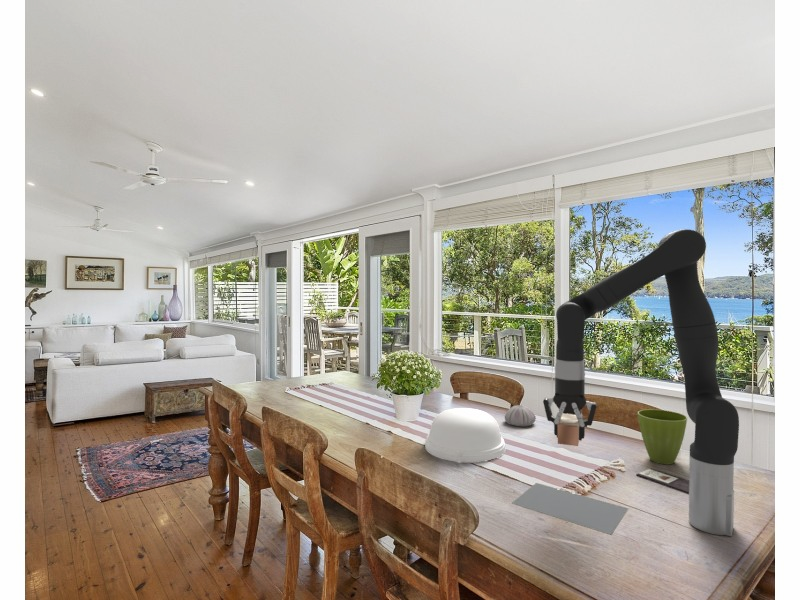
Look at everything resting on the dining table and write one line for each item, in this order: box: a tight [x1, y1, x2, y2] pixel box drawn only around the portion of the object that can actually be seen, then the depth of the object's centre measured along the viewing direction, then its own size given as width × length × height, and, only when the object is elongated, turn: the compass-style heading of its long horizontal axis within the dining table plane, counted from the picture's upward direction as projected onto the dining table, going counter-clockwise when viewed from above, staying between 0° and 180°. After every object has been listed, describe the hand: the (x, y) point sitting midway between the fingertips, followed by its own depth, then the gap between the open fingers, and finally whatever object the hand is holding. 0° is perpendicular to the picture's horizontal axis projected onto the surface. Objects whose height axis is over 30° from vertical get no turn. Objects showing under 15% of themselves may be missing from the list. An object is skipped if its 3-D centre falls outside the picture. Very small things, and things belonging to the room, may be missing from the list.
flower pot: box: [637, 408, 688, 465], centre depth 160 cm, size 15×15×16 cm
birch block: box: [557, 413, 580, 447], centre depth 126 cm, size 5×5×12 cm
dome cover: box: [424, 407, 506, 464], centre depth 173 cm, size 32×30×14 cm
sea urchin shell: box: [504, 404, 537, 428], centre depth 204 cm, size 13×14×8 cm
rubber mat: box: [511, 482, 630, 536], centre depth 126 cm, size 26×17×1 cm, turn 51°
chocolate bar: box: [636, 467, 689, 495], centre depth 142 cm, size 9×1×18 cm
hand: (569, 438), depth 125 cm, fingers closed on birch block, 5 cm apart
